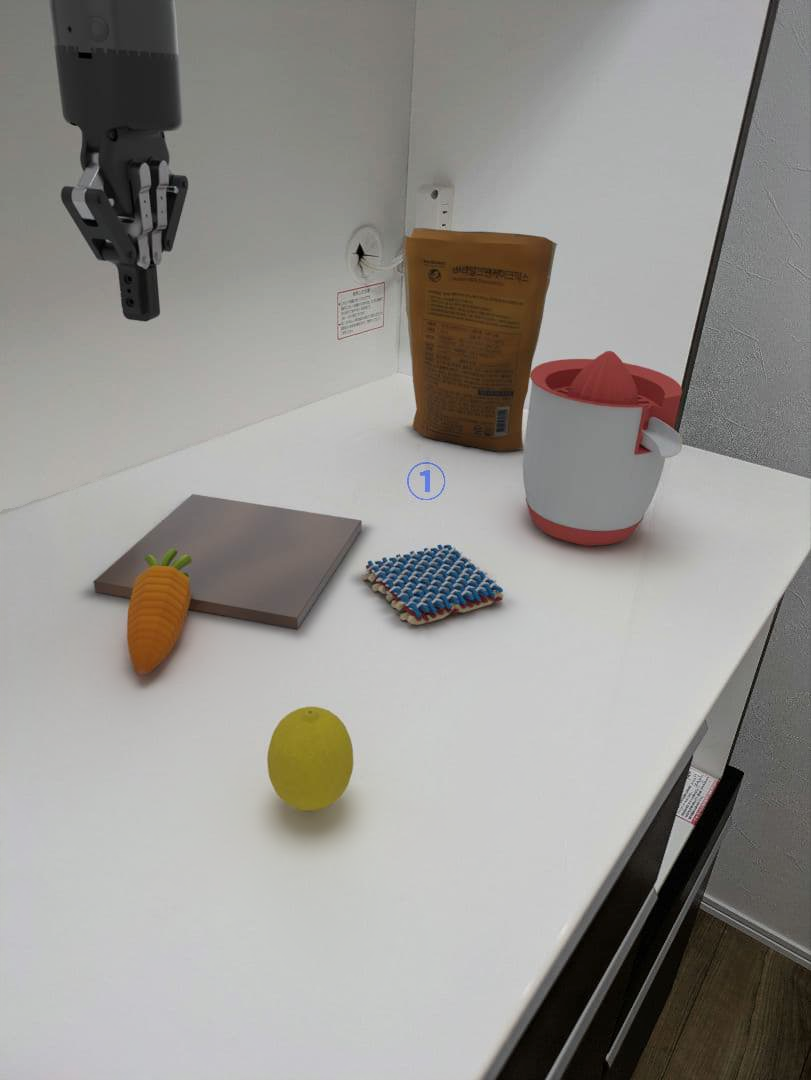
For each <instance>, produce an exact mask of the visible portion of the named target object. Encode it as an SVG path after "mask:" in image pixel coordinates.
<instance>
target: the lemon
mask: <svg viewBox="0 0 811 1080" xmlns="http://www.w3.org/2000/svg"><path fill="white" fill-rule="evenodd" d="M353 770H354V749H353V742H352V740H351V737H350V733H349V732H348V729H347V727H346V725H345V724H344V722H343V721H342V720H341V719H340V717H339V716H337V715H336V714H335V713H333V712H331V711H330V710H328V709H326V708H323V707H319V706H304V707H300V708H297V709H294V710H293V711H291V712H289V713H288V714H287V715H285V716H284V717H283V718H282V719H281V720H280V721H279V722H278V724H277V725H276V727H275V728H274V730H273V733H272V735H271V738H270V741H269V746H268V749H267V771H268V777H269V781H270V783H271V785H272V787H273V790H274V791H275V793H276V794H277V796H278V797H279V798H280V799H281V800H282V801H283V802H284V803H285V804H287V805H289V806H290V807H292V808H294V809H297V810H300V811H305V812H306V811H307V812H309V811H318V810H323V809H325V808H327V807H329V806H331V805H333V804H334V803H335V802H336V801H338V800H339V798H341V797H342V795H343V794H344V792H345V791H346V789H347V788H348V786H349V784H350V780H351V778H352V774H353Z"/></svg>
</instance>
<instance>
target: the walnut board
mask: <svg viewBox="0 0 811 1080" xmlns="http://www.w3.org/2000/svg"><path fill="white" fill-rule="evenodd" d="M362 523H363V522H362V519H355V518H351V517H350V518H349V517H343V516H338V515H337V516H336V515H330V514H324V513H317V512H311V511H304V510H297V509H292V508H285V507H280V506H279V507H278V506H272V505H265V504H258V503H252V502H246V501H240V500H233V499H227V498H220V497H216V496H215V497H214V496H208V495H201V494H194V493H192V494H190V495H189V496H188V497H187V498H186V499H185V500H184V501H182V503H180V505H178V506H177V507H176V508H175V509H174V510H172V511H171V512H170V513H169V514H168V515H166V517H164V519H162V520H161V521H160V522H159V523H158V524H156V525H155V527H153V528H152V529H151V530H149V532H148V533H146V534H145V535H144V536H143V537H142V538H141V539H140V540H138V541H137V542H136V543H135V544H134V545H133V546H132V547H130V548H129V549H128V550H127V551H126V552H125V553H124V554H122V555H121V556H120V557H119V558H118V559H117V560H116V561H115V562H113V564H111V565H110V566H109V567H108V568H107V569H105V570H104V571H103V572H102V573H101V574H99V576H97V577H96V578H95V579H94V580H93V587H94V592H95V593H99V594H104V595H110V596H116V597H120V598H127V599H131V595H132V591H133V587H134V583H135V581H136V579H137V578H138V576H140V575H141V574H142V573H143V572H145V571H146V570H147V569H148V568H150V566H149V564H148V563H147V562H146V560H145V559H144V558H145V557H146V556H147V555H152V556H153V557H154V558H155V559H156V560H157V562H158V565H159V566H160V565H161V562H162V559H163V558H164V556H165V555H166V553H167V552H168V551H169V550H170V549H174V550H176V551H178V553H177V555H176V556H175V557H174V559H173V560H172V561H171V562H170V564H169V566H171V565H172V564H173V563H174V562H175V561H176V560H178V559H179V558H181V557H182V556H184V555H190V557H191V559H192V562H191V563H189V564H188V565H186V566H185V567H183V568H182V569H180V570H179V571H180V572H181V573H183V572H187V573H188V574H189V577H188V578H189V583H190V594H191V599H190V603H189V607H188V610H192V611H197V612H202V613H207V614H213V615H219V616H225V617H230V618H234V619H241V620H245V621H251V622H256V623H262V624H268V625H273V626H279V627H284V628H289V629H294V630H298V629H299V627H300V626H301V625H302V623H303V622H304V620H305V618H306V617H307V615H308V613H309V612H310V610H311V609H312V607H313V606H314V604H315V603H316V601H317V600H318V598H319V597H320V595H321V594H322V592H323V590H324V589H325V587H326V586H327V584H328V582H329V581H330V579H331V578H332V577H333V574H334V573H335V571H336V570H337V568H339V565H340V564H341V562H342V560H343V559H344V558H345V556H346V555H347V553H348V551H349V549H351V546H352V545H353V544H354V542H355V540H356V539H357V537H358V536H359V534H360V533H361V531H362Z"/></svg>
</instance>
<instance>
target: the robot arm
mask: <svg viewBox="0 0 811 1080" xmlns="http://www.w3.org/2000/svg"><path fill="white" fill-rule="evenodd" d="M48 4H49V14H50V21H51V29H52V38H53V45H54V46H53V47H54V54H55V62H56V71H57V79H58V87H59V93H60V94H59V96H60V103H61V112H62V117H63V119H64V121H65V122H66V123H68V124H69V125H71V126H74V127H78V128H79V130H80V132H81V148H80V152H79V153H80V154H79V162H80V166H81V170H82V172H83V173H82V175H81V176H80V179H79V181H78V182H77V184H76V185H75V186H70V185H64V186H63V187H62V189H61V190H60V191H61V192H60V199H61V202H62V204H63V206H64V207H65V209H66V210H67V213H68V214H69V215H70V217H71V218H72V219H71V220H73V223H74V224H75V225H76V227H77V229H78V230H79V232H80V234H81V235H82V237H83V238H84V240H85V241H86V243H87V245H88V246H89V248H90V250H91V251H92V253H93V255H94V257H95V258H96V259H97V260H98V261H104V262H109V263H111V264H112V266H115V267H116V268H117V273H118V284H119V293H120V302H121V309H122V314H123V316H124V318H126V319H127V320H128V321H129V320H130V321H139V322H149V321H152V320H153V319H156V318H158V317H159V316H160V315H161V305H160V294H159V292H160V291H159V282H158V268H157V267H158V266H159V265H160V264H161V263H162V260H163V259H162V258H163V253H164V252H167V253H169V252H172V250H173V248H174V244H175V240H176V237H177V232H178V229H179V225H180V220H181V217H182V213H183V209H184V205H185V201H186V197H187V195H188V190H189V180H188V177H187V176H186V175H182V174H174V172H173V170H172V169H171V167H170V158H171V157H170V151H169V147H168V145H167V141H166V135H165V132H175V131H178V130H180V129H181V127H182V125H183V107H182V106H183V105H182V89H181V74H180V58H179V55H180V54H179V41H178V25H177V23H178V22H177V11H176V2H175V0H48Z"/></svg>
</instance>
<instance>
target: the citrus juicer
mask: <svg viewBox="0 0 811 1080" xmlns="http://www.w3.org/2000/svg"><path fill="white" fill-rule="evenodd" d="M530 379H531V388H530V396H529V403H528V410H527V411H528V412H527V420H526V428H525V436H524V443H523V453H522V454H523V456H522V477H523V478H522V479H523V487H524V492H525V502H526V506H527V509H528V513H529V516H530V518H531V522H532V523H533V524H534V526H535V527H537V528H538V529H539V530H540V531H542V532H543V533H545V534H547V535H549V536H551V537H553V538H556V539H559V540H562V541H565V542H569V543H573V544H578V545H580V546H584V547H591V546H603V545H604V546H605V545H611V544H617V543H620V542H622V541H624V540H625V541H626V540H627V539H629V538H630V537H631V536H632V535H633V533H634V532H635V531H636V529H637V528H638V527H639V526H640V524H641V523H642V521H643V520H644V517H645V514H646V512H647V510H648V509H649V507H650V505H651V503H652V501H653V499H654V496H655V494H656V491H657V489H658V486H659V484H660V480H661V477H662V473H663V469H664V466H665V462H666V459H668V458H669V459H670V458H673V457H675V456H677V455H679V454H680V452H681V450H682V448H683V438H682V436H681V435H680V434H679V433H678V431H676V430H675V426H676V425H675V424H676V420H677V416H678V412H679V406H680V402H681V398H682V395H683V389H682V386H681V384H680V383H679V382H678V381H676V380H675V379H674V378H673V377H670V376H669V375H666V374H665V373H662V372H660V371H657V370H655V369H651V368H648V367H644V366H641V365H637V364H632V363H627V362H623V361H622V359H621V358H620V357H619V356H618V355H617V354H616V353H615V352H614V351H612V350H606V351H604V352H603V353H601V354H600V355H598V356H597V357H595V358H568V359H566V358H565V359H557V360H551V361H547V362H544V363H541V364H538V365H536V366H535V367H534V368H532V369H531V373H530Z"/></svg>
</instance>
